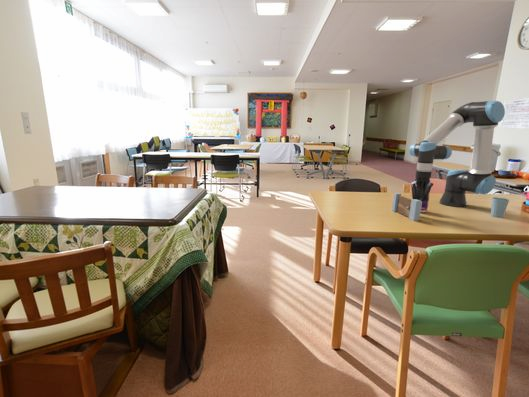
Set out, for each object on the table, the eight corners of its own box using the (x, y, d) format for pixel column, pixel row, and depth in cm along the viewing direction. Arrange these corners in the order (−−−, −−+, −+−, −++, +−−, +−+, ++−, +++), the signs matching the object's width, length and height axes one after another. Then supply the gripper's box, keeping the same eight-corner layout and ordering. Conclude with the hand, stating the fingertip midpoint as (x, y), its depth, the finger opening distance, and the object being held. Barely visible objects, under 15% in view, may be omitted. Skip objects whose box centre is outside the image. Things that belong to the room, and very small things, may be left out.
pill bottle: (428, 213, 172) (432, 189, 169) (414, 212, 174) (417, 188, 171) (424, 209, 180) (427, 187, 177) (410, 209, 182) (413, 186, 178)
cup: (506, 216, 170) (510, 199, 167) (504, 219, 164) (508, 201, 162) (490, 213, 175) (493, 196, 172) (487, 216, 170) (491, 198, 167)
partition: (396, 210, 177) (398, 192, 175) (418, 220, 158) (421, 201, 156) (391, 210, 177) (393, 192, 174) (413, 220, 158) (416, 201, 155)
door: (398, 211, 174) (400, 195, 172) (411, 217, 162) (414, 200, 160) (394, 211, 174) (396, 195, 171) (407, 217, 162) (410, 200, 160)
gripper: (429, 169, 165) (423, 209, 171) (408, 169, 163) (403, 210, 169) (439, 171, 158) (432, 213, 164) (417, 171, 156) (411, 214, 161)
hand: (417, 211), depth 166 cm, fingers closed
